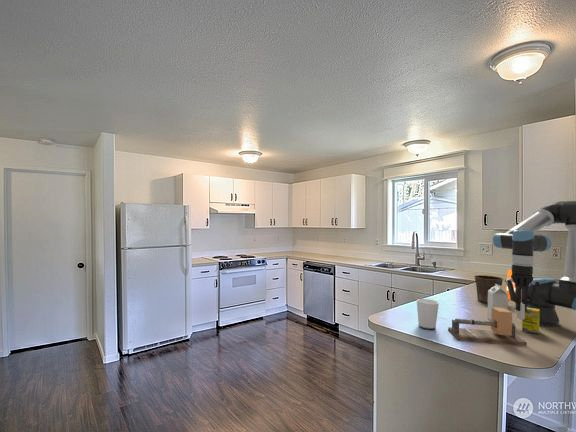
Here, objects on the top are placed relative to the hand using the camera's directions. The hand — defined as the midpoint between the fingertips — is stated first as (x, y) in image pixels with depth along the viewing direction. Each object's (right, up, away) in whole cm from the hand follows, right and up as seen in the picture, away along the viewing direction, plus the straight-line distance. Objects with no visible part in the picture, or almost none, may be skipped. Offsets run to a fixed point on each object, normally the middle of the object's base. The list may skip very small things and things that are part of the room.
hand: (520, 318), depth 136 cm
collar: (-8, -7, +1) cm, 10 cm away
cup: (-35, -9, +13) cm, 39 cm away
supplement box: (+14, -11, +12) cm, 21 cm away
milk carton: (+8, -11, +27) cm, 30 cm away
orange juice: (+54, -13, +76) cm, 94 cm away
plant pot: (+29, -12, +67) cm, 74 cm away
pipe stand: (-14, -9, +2) cm, 17 cm away
